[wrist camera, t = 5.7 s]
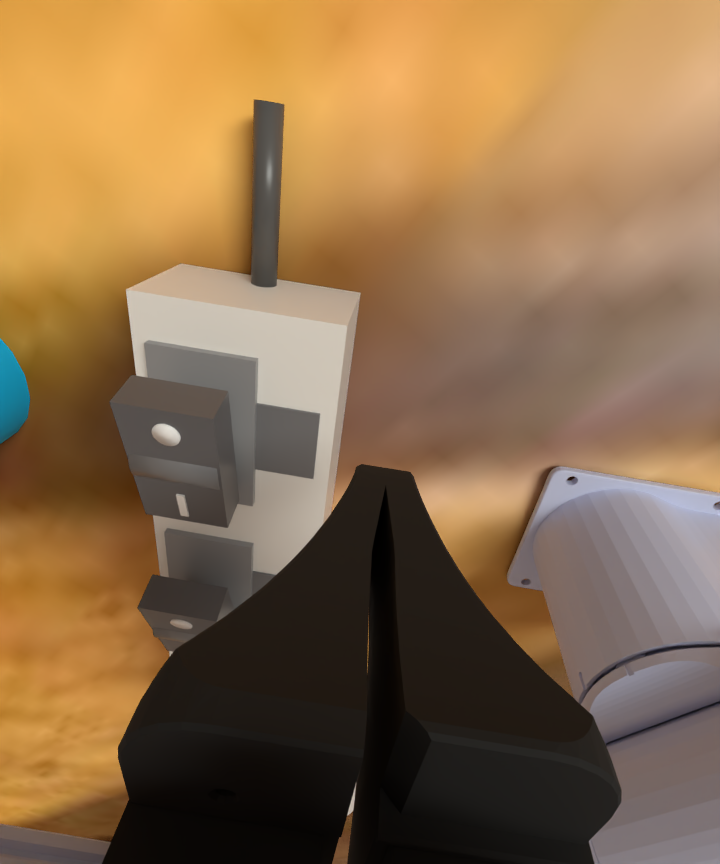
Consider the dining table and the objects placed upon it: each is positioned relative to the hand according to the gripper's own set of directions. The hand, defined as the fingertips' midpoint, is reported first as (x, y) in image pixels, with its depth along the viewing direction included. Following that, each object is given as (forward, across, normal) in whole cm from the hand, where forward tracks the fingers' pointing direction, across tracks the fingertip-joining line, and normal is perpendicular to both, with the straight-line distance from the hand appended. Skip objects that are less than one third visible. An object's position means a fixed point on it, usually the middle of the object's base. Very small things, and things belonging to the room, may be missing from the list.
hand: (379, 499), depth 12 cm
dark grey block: (+4, +7, +3) cm, 8 cm away
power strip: (+10, +6, +9) cm, 15 cm away
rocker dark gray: (+4, +7, +12) cm, 14 cm away
